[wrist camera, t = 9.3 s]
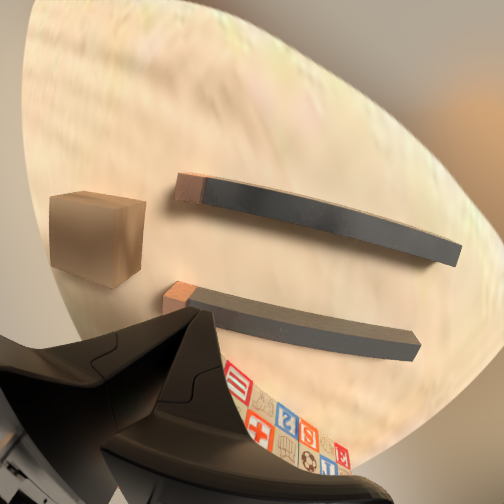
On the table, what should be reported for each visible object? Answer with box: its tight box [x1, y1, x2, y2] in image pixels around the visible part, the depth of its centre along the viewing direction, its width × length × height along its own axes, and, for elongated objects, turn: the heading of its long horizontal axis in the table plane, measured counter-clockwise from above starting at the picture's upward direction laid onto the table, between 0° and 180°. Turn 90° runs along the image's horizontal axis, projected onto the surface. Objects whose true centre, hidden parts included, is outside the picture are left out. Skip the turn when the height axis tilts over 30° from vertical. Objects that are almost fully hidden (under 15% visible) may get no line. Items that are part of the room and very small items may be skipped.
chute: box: [162, 173, 462, 362], centre depth 16 cm, size 9×18×2 cm, turn 79°
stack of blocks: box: [117, 354, 352, 488], centre depth 16 cm, size 21×6×12 cm, turn 44°
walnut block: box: [49, 191, 146, 289], centre depth 17 cm, size 5×6×4 cm
